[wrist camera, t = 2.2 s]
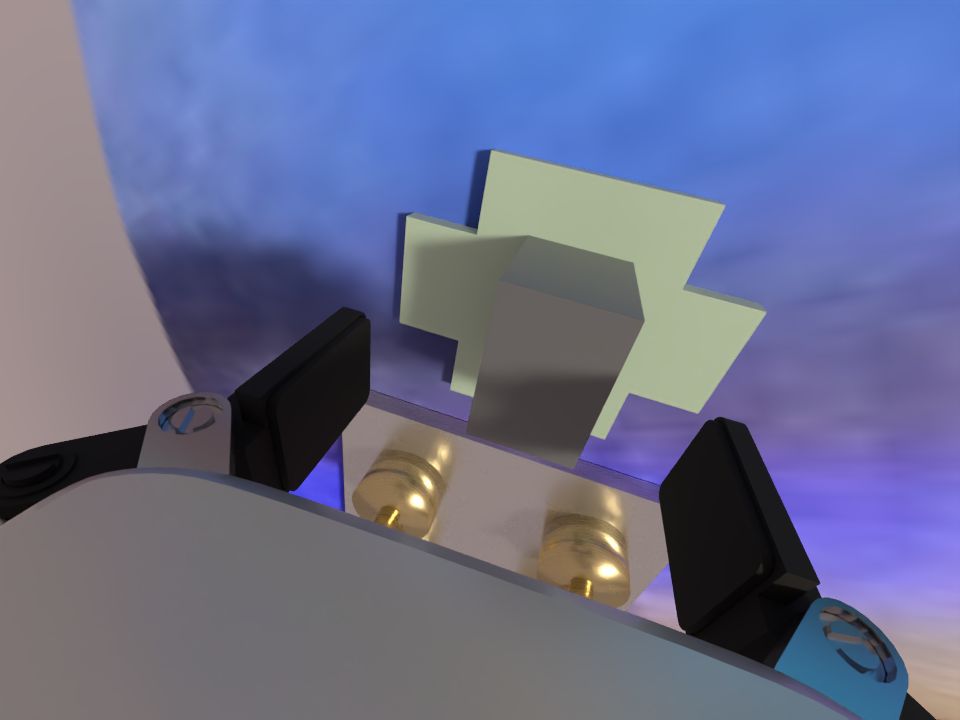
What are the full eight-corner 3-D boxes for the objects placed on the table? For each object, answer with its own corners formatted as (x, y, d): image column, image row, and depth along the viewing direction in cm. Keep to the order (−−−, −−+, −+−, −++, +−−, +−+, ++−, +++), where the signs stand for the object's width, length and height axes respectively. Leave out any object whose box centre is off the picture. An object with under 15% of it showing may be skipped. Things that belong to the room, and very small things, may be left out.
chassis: (701, 499, 20) (738, 643, 14) (586, 638, 30) (582, 753, 25) (352, 384, 22) (270, 469, 17) (354, 547, 33) (304, 634, 27)
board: (812, 223, 13) (934, 284, 8) (664, 447, 19) (684, 557, 14) (420, 131, 15) (331, 136, 10) (402, 364, 21) (342, 437, 16)
